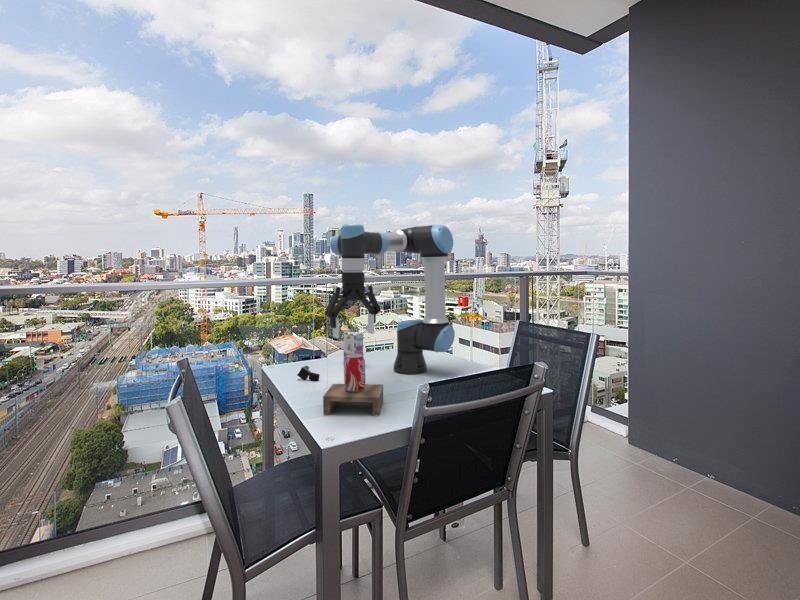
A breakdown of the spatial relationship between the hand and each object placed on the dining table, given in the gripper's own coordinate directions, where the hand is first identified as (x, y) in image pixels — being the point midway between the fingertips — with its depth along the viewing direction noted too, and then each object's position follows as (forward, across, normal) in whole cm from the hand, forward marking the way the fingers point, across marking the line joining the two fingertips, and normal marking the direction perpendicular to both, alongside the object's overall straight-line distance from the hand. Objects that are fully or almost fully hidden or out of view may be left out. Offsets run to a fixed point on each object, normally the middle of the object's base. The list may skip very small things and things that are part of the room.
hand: (354, 335), depth 136 cm
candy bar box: (+25, -28, -48) cm, 61 cm away
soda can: (+19, 0, 0) cm, 19 cm away
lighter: (+25, -2, -40) cm, 47 cm away
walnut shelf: (+25, 0, 0) cm, 25 cm away
